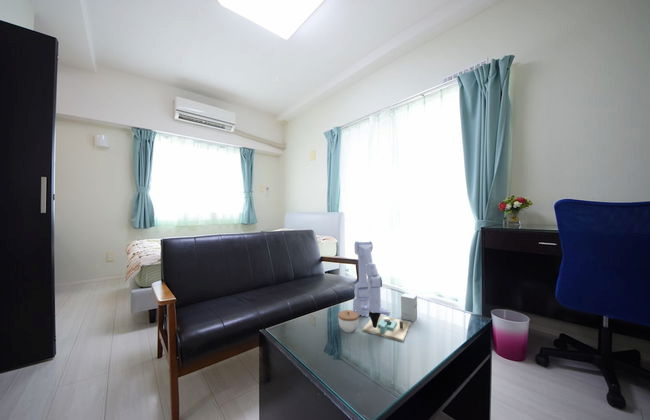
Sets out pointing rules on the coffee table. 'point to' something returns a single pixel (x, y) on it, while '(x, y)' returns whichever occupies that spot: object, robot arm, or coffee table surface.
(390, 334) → the board
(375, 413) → the coffee table surface
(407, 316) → the supplement box
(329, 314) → the coffee table surface
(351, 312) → the lidded jar
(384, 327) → the angular block
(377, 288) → the robot arm
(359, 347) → the coffee table surface
